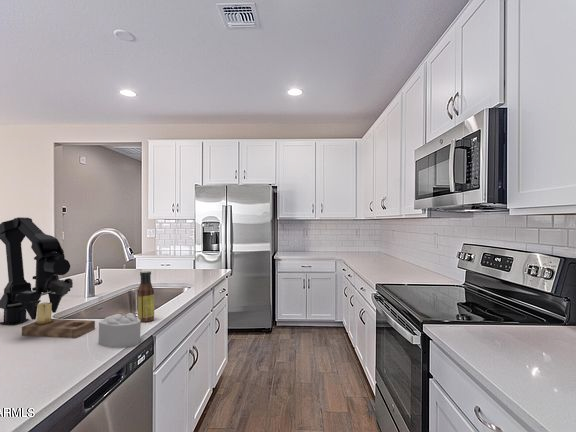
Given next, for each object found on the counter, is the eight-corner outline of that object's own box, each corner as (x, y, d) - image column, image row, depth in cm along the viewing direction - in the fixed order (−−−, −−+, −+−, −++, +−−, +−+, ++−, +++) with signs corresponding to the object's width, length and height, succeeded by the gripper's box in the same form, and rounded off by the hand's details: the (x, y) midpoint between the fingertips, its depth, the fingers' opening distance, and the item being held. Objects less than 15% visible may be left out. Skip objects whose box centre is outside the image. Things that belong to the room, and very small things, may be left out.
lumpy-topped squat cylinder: (119, 334, 122) (119, 310, 122) (148, 339, 117) (148, 314, 117) (93, 344, 112) (94, 317, 112) (124, 350, 107) (125, 322, 108)
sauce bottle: (157, 318, 142) (158, 270, 142) (149, 323, 135) (150, 272, 136) (142, 317, 142) (143, 270, 142) (133, 322, 136) (135, 272, 136)
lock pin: (36, 332, 122) (37, 304, 122) (43, 329, 125) (44, 302, 125) (44, 332, 122) (45, 304, 122) (50, 330, 125) (51, 302, 125)
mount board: (21, 335, 119) (21, 326, 119) (44, 326, 129) (44, 318, 129) (75, 338, 117) (76, 329, 117) (94, 328, 127) (94, 320, 127)
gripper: (46, 277, 114) (44, 324, 113) (84, 269, 132) (82, 310, 132) (14, 276, 114) (13, 323, 114) (57, 268, 133) (55, 308, 133)
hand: (44, 315), depth 123 cm, fingers open, 9 cm apart
